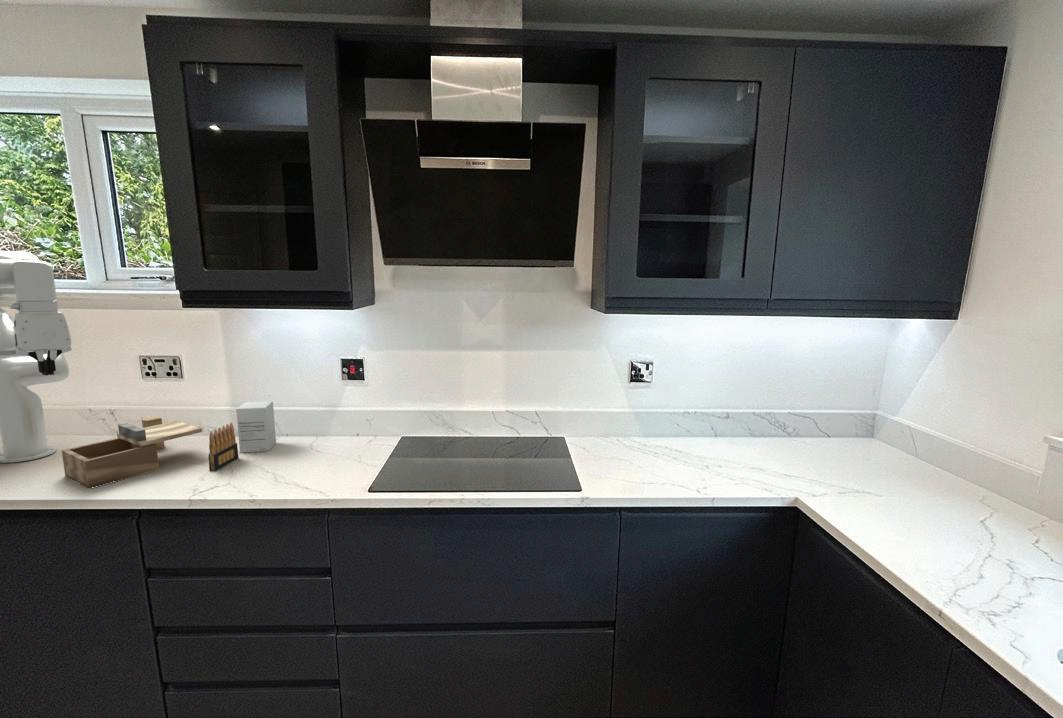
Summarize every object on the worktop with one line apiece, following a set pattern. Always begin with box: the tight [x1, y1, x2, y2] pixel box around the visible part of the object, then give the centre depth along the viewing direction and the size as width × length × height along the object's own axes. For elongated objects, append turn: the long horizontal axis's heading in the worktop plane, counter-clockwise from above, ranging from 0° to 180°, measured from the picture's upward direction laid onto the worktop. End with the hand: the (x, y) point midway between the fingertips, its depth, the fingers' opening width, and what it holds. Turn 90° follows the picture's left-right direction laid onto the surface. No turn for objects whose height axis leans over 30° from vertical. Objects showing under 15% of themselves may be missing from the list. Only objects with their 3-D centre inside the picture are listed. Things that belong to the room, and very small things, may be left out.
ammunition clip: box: [208, 422, 239, 472], centre depth 143 cm, size 11×2×12 cm, turn 178°
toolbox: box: [61, 437, 160, 489], centre depth 136 cm, size 16×16×8 cm
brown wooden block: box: [141, 416, 165, 450], centre depth 156 cm, size 4×4×10 cm
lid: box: [116, 420, 203, 447], centre depth 145 cm, size 15×16×4 cm
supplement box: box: [235, 400, 277, 454], centre depth 158 cm, size 9×9×15 cm
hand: (48, 374), depth 130 cm, fingers closed
